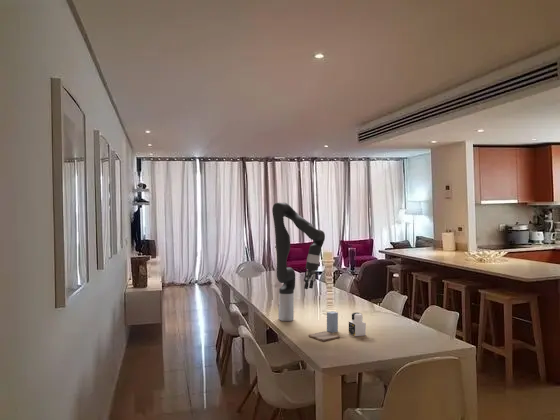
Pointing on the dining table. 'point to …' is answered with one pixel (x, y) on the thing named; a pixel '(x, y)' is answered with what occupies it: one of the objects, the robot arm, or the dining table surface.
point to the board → (324, 336)
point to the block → (332, 321)
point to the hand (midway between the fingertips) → (308, 288)
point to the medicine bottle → (357, 325)
